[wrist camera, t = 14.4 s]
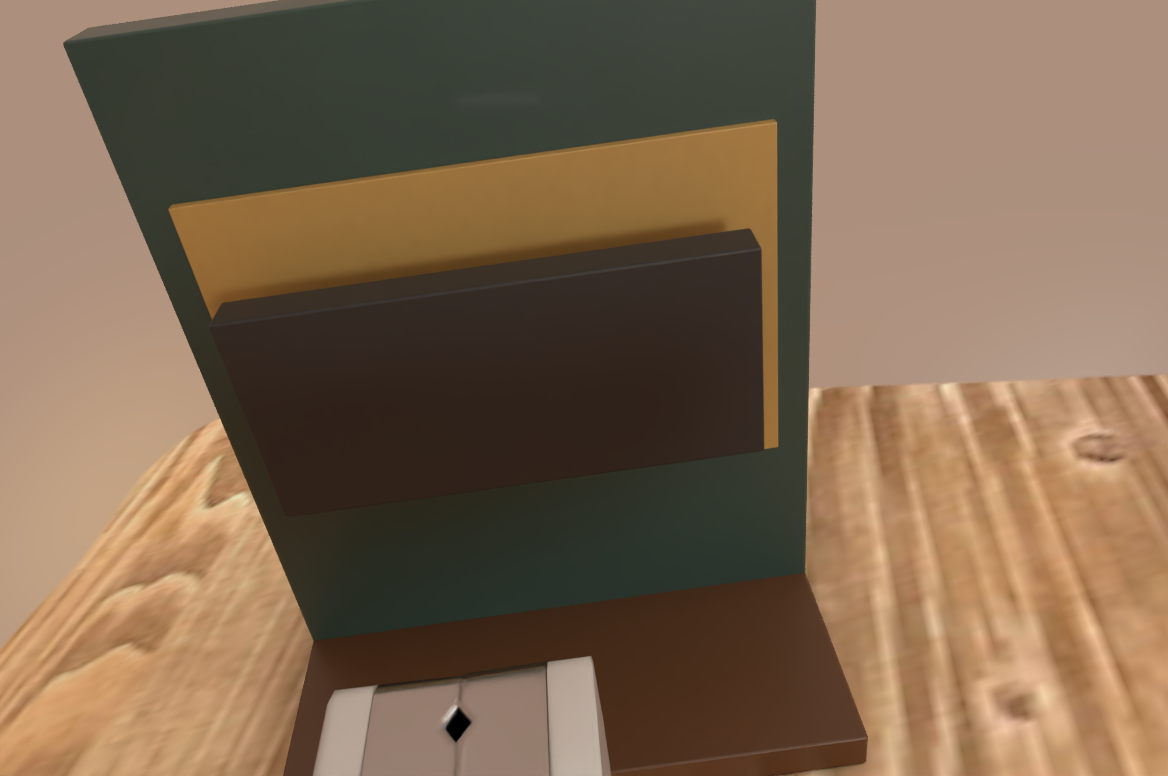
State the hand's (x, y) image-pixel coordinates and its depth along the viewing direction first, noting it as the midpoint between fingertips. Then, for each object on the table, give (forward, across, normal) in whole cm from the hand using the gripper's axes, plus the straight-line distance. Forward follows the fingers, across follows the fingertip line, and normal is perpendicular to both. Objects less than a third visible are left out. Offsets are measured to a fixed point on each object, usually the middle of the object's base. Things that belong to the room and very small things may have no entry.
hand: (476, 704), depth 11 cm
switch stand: (+15, 0, -16) cm, 22 cm away
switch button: (+13, 0, -7) cm, 14 cm away
